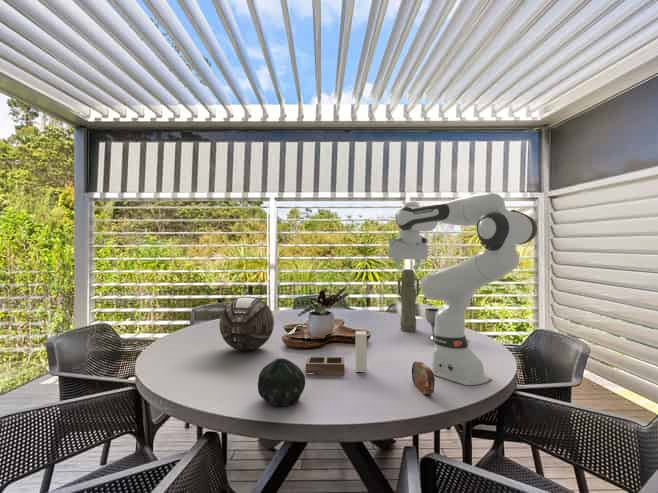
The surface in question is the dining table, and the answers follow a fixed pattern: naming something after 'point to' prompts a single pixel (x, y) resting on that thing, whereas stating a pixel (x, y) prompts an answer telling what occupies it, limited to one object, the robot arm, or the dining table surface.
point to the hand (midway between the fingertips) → (407, 269)
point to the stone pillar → (408, 300)
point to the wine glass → (431, 319)
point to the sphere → (246, 323)
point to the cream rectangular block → (361, 351)
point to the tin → (423, 377)
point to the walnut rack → (325, 365)
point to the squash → (281, 382)
